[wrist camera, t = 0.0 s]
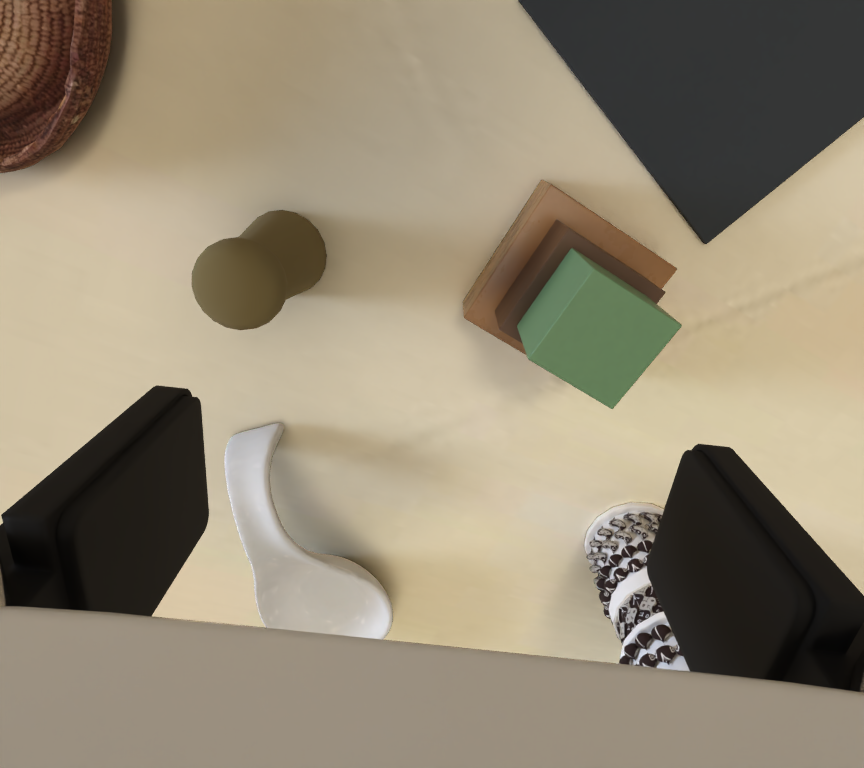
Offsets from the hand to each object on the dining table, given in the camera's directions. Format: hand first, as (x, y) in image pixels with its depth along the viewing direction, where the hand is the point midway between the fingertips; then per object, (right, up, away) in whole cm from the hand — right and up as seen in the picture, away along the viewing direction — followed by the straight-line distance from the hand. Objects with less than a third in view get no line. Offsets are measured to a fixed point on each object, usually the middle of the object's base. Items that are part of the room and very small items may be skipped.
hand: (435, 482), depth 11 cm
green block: (+9, +6, +22) cm, 25 cm away
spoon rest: (-11, -12, +40) cm, 43 cm away
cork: (-11, +11, +30) cm, 34 cm away
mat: (+19, +25, +23) cm, 39 cm away
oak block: (+9, +10, +30) cm, 32 cm away
